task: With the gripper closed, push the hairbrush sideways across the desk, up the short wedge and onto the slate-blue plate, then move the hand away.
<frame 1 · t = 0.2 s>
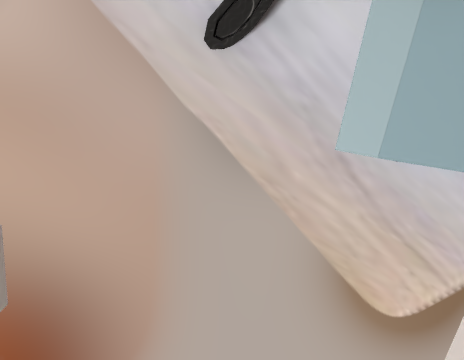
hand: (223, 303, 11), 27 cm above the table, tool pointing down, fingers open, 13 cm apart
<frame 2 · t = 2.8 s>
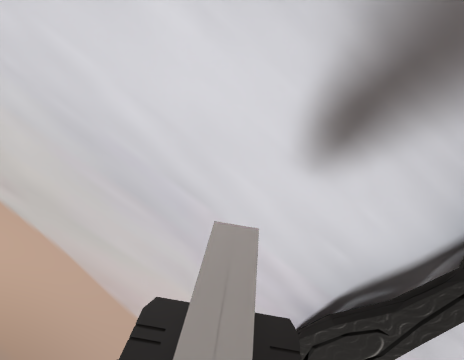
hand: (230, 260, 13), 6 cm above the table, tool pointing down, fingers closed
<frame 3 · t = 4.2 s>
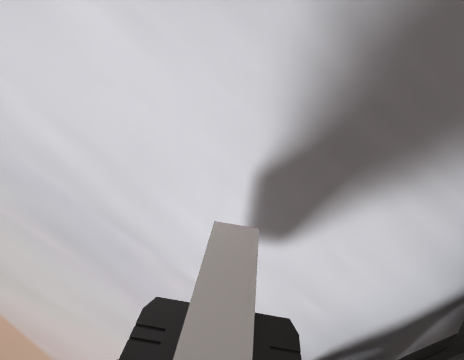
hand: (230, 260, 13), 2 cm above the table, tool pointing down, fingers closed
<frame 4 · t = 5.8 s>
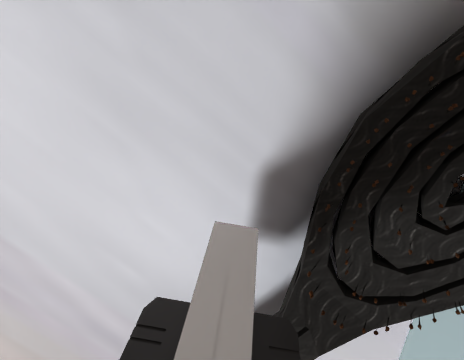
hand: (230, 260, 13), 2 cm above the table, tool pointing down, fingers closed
hairbrush: (343, 263, 15), on the table
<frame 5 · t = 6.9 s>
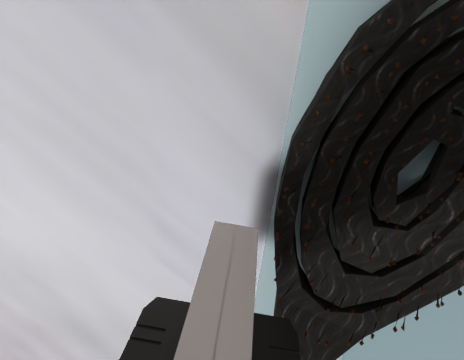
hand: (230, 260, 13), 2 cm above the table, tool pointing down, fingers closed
hairbrush: (325, 276, 15), on the table, touching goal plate, gripper
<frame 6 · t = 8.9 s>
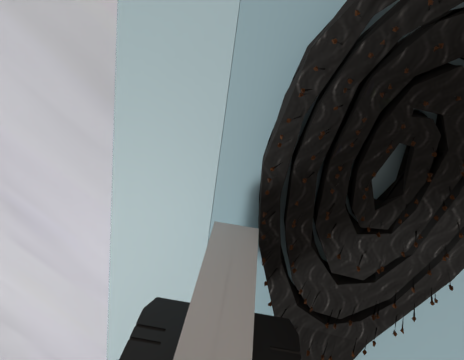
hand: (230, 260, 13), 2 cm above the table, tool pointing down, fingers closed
hairbrush: (319, 288, 15), resting on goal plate
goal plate: (387, 345, 16), on the table
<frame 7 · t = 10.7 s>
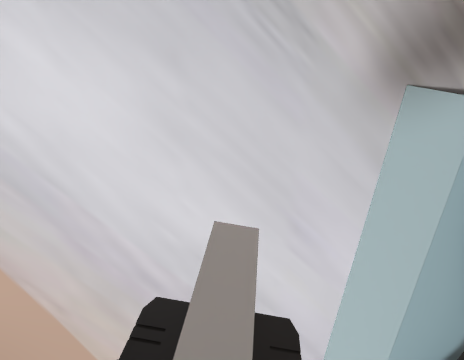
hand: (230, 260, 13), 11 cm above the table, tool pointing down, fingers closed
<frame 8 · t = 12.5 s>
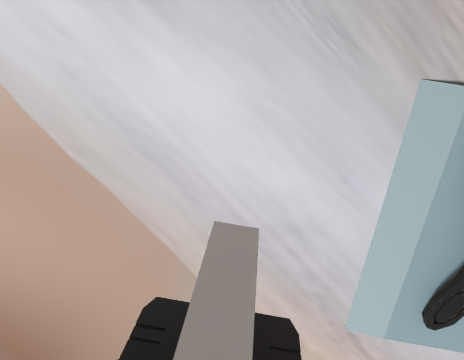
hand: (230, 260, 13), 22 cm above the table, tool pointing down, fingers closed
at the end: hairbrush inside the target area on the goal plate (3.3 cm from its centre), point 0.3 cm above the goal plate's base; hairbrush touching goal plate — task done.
